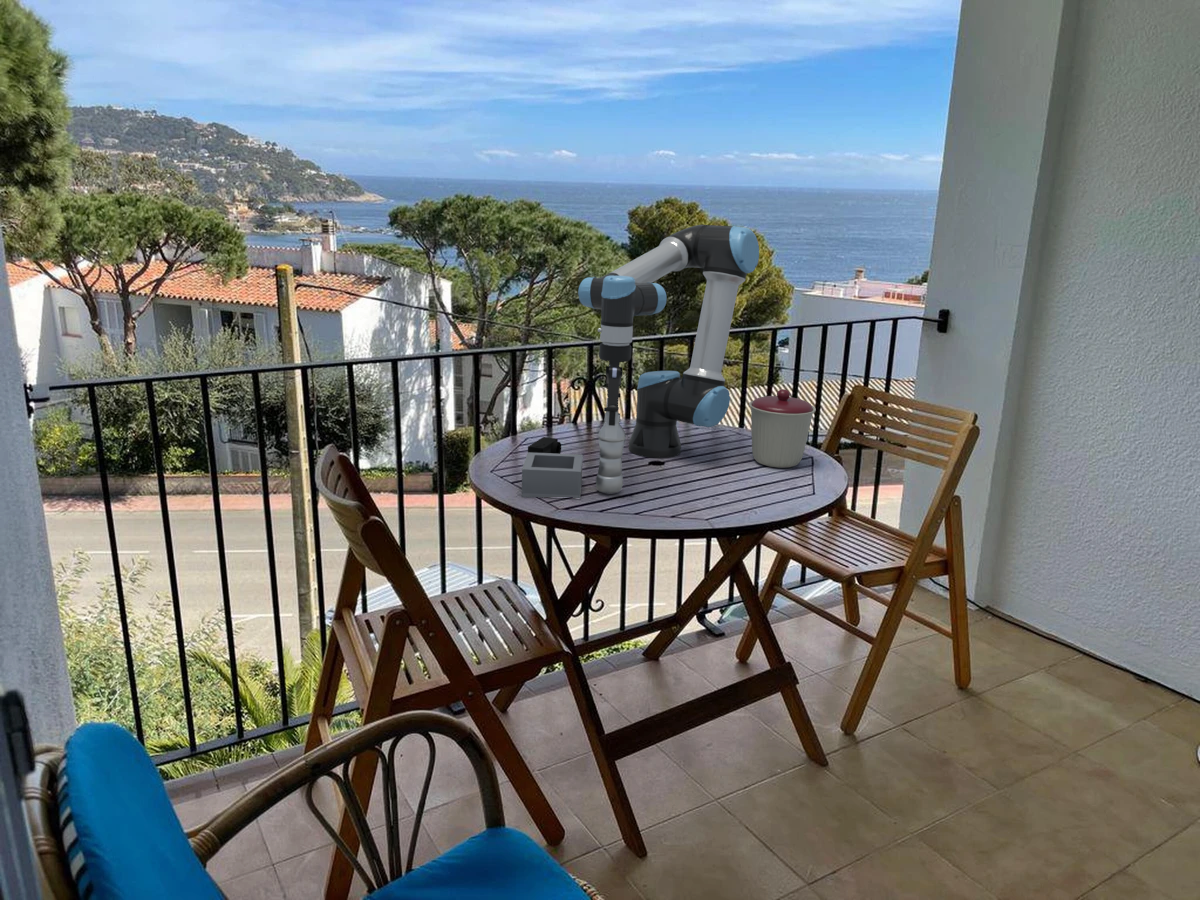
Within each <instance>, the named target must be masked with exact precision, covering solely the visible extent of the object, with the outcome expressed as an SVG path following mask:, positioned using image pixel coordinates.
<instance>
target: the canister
mask: <svg viewBox="0 0 1200 900" xmlns="http://www.w3.org/2000/svg"><path fill="white" fill-rule="evenodd" d="M748 406H749V408H750V410H751V411H750V413H751V415H750V417H751V418H750V420H751V424H750V425H751V427H750V428H751V448H752V449H751V452H752V456H753V459H754V460H755V461H756V462H757V463H758V464H760V465H763V466H766V467H770V468H777V469H778V468H779V469H784V468H785V469H786V468H793V467H795V466H797V465H799V464H800V462H801V460H802V458H803V456H804V452H805V448H806V446H807V445H806V444H807V440H808V438H809V437H808V436H809V432H810V427H811V423H812V419H813V414H814V413H815V412H816V411H817V410H816V407H815V406H813V405H812V404H811V403H810V402H809V401H806V400H804V399H801V398H796V397H791V393H790V391H789V390H787V389H785V388H784V389H782V388H781V389H779V390H778V391H777V393H776V395H764V396H760V397H757V398H755V399H753V400H751V401H749V404H748Z"/></svg>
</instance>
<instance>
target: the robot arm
mask: <svg viewBox="0 0 1200 900" xmlns="http://www.w3.org/2000/svg"><path fill="white" fill-rule="evenodd" d="M759 259H760V246H759V241H758V239H757V236H756V234H755V232H753V230H752V229H750V228H748V227H742V226H736V225H733V226H732V225H717V224H716V225H714V224H713V225H712V224H711V225H710V224H698V225H692V226H689V227H686V228H684V229H680V230H679V231H677V232H675V233H672V234H670V235H669V236H666V237H665V238H663V239H662V240H661V241H660V243H659V245H658V246H657V247H654V248H652V249H651V250H649V251H646V252H645V253H644V254H642V255H640V256H638V257H635V259H632V260H631V261H628V262H627V263H625V264H623V265H622V266H620V267H618V268H616V269H614V270H612V271H611V272H608V273H606V274H605V275H603V276H601V277H597V276H593V277H590V276H589V277H586V278H585V277H584V279H582V281H581V282H580V284H579V286H578V292H577V295H578V300H579V302H580V304H582V306H584V307H587V308H591V309H594V310H601V314H600V315H601V317H600V327H599V328H597V332H598V333H600V334H599V336H600V337H599V341H600V342H601V343H600V344H599V348H598V350H599V352H598V358H599V359H600V360H601V361H604V362H608V366H606V367H605V377H606V381H605V382H606V383H605V384H606V387H607V390H606V392H607V393H606V396H607V398H606V407H603V411H604V412H605V413H606V422H605V423H606V432H605V438H610V439H617V425H618V413H619V410H620V409H619V399H620V398H621V393H620V387H621V386H622V377H623V375H624V374H623V370H624V369H623V366H620V363H621V362H622V363H624V362H625V363H626V362H629V361H631V359H632V347H633V346H631V344H632V342H633V332H634V331H633V329H634V326H633V325H634V323H633V322H634V317H637V316H653V315H654V314H659V313H660V312H662V311H663V310H664V309H665V306H666V304H667V293H666V291H665V288H664V286H662V285H661V284H659V283H656V282H655V281H658V280H659V279H660V278H662V277H664V276H666V275H668V274H669V273H672V272H680V271H682V270H684V269H687V268H695V269H697V268H699V269H703V271H702V275H703V276H704V278H705V280H706V284H705V290H704V294H703V299H702V305H701V309H700V310H701V311H700V313H699V314H700V315H699V318H698V319H699V320H698V326H697V330H696V336H695V340H694V344H693V345H694V346H693V351H692V356H691V362H690V366H689V367H688V369H686V370H685V371H683V373H682V377H681V375H680V374H681V373H680V372H679V371H677V370H657V371H648V372H643V373H642V374H640V375H639V376H638V377H639V378H638V383H637V387H636V390H637V395H636V418H635V420H636V421H635V426H634V428H633V430H632V432H631V435H630V439H629V440H628V451H629V452H630V453H632V454H634V455H637V456H641V457H646V458H658V459H659V458H660V459H661V458H671V457H676V456H678V455H679V454H681V453H682V441H681V437H680V434H679V431H678V427H677V426H678V425H677V422H681V423H685V424H690V425H694V426H696V427H704V428H705V427H706V428H712V427H716V426H717V425H718V424H719V423H720V422H721V421H723V419H725V417H726V414H727V413H728V409H729V406H730V402H731V396H730V395H731V393H730V391H729V390H728V388H726V387H725V384H726V379H725V378H724V376H723V375H722V370H723V364H724V359H725V354H726V350H727V345H728V341H729V335H730V330H731V324H732V321H733V316H734V315H733V314H734V310H735V309H734V308H735V305H736V300H737V295H738V291H739V286H740V285H741V284H743V283H744V282H746V279H747V274H750V273H753V272H754V270H755V269H756V268H757V266H758V264H759Z"/></svg>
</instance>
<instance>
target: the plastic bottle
mask: <svg viewBox="0 0 1200 900" xmlns="http://www.w3.org/2000/svg"><path fill="white" fill-rule="evenodd" d="M621 420H622V419H621V413H619V412H618V425H617V439H610V438H605V432H606V412H605V413H604V420H603V421H604V424H603V426H602V427H601V428H600V429H599V431H598V446H599V462H598V463H599V465H598V470H597V475H596V478H595V479H596V480H595V486H596V487H595V488H596V490H598V492H599V493H603V494H608V495H611V494H612V495H613V494H618V493H620V492H621V491H622V488H623V485H624V478H623V477H624V476H623V468H622V467H623V466H622V463H623V462H622V461H623V452H624V446H625V442H626V432H625V430H624V427H623V426H622V425H621V424H620V423H621Z"/></svg>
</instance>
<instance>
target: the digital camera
mask: <svg viewBox="0 0 1200 900" xmlns="http://www.w3.org/2000/svg"><path fill="white" fill-rule="evenodd" d="M528 452H531V453H555V454H562V443H561V441H558V438H553V437H547V436H543V437H541V438H540V439H538V440H536V441H534V442H533V443H532V444H530V445H527V453H528Z"/></svg>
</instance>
